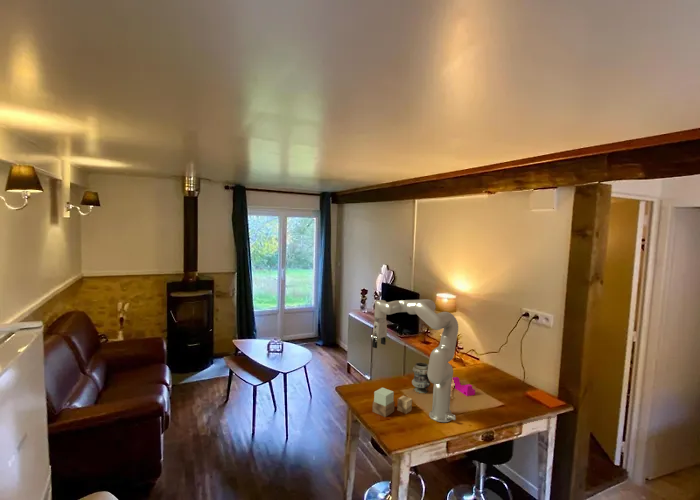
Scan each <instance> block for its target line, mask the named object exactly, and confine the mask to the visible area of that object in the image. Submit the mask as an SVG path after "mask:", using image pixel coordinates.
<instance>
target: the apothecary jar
mask: <svg viewBox="0 0 700 500" xmlns="http://www.w3.org/2000/svg"><path fill="white" fill-rule="evenodd" d="M428 365H429V363H426V362H416V363H415V365H414V366H413V368H412V372H413V373H414V374H413V378H412V380H411V384H412V385H413V387H415V388H413V391H414V390H415V391H416V392H419V393H418V394H420V393H425V394H427V393H428V392H429V390H428V388H429V387H430V386H431V384H432V383H431V382H430V380H429V379H428V375H427V371H428ZM427 390H428V391H427ZM415 391H414V392H415ZM416 392H415V393H416Z"/></svg>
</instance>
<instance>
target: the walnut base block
mask: <svg viewBox="0 0 700 500" xmlns="http://www.w3.org/2000/svg"><path fill="white" fill-rule="evenodd" d="M395 402H396V401H394V400H393V402H392V403H390V404H389V405H387V406H383V405H381V404H378V403H376V402H374V401H372V411H371V412H372V413H375V414H377V415H380V416H381V417H383V418H386V417H387V418H388V416H390V415H391V414H393V413H394V412H395V405H396V404H395Z"/></svg>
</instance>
